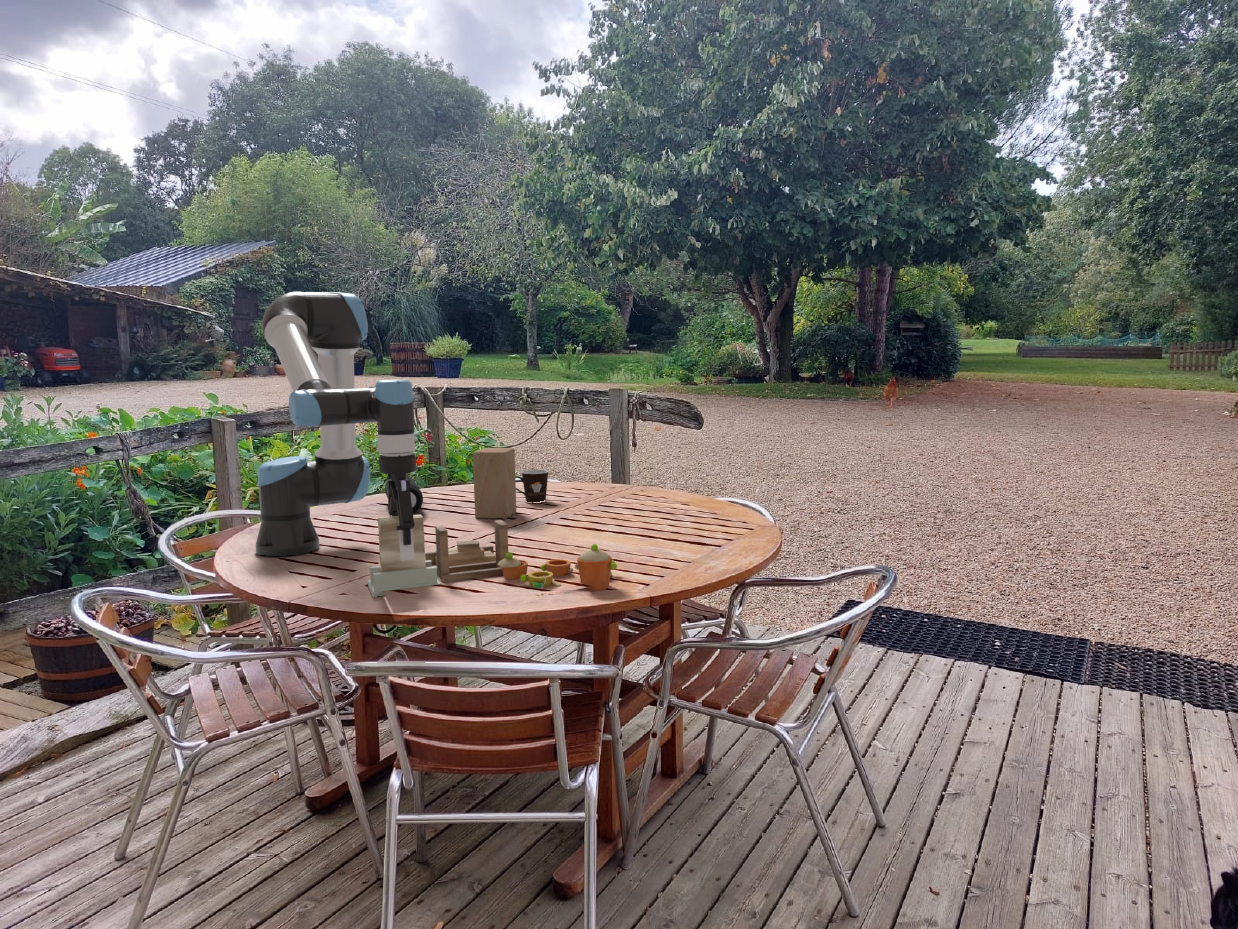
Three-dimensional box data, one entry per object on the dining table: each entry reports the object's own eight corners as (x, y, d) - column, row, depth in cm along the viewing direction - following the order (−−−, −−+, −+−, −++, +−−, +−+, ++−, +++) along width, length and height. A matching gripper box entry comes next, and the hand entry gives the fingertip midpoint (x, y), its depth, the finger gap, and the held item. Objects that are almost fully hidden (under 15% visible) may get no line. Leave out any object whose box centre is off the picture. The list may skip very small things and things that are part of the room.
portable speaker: (385, 503, 273) (383, 473, 272) (416, 501, 276) (414, 471, 275) (391, 519, 249) (389, 486, 248) (425, 516, 253) (423, 483, 251)
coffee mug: (552, 499, 275) (551, 470, 274) (544, 504, 267) (543, 474, 266) (519, 498, 278) (518, 469, 277) (510, 503, 270) (509, 473, 268)
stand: (367, 585, 181) (366, 565, 181) (432, 577, 187) (431, 558, 186) (373, 597, 172) (372, 577, 171) (441, 589, 178) (440, 569, 177)
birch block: (381, 582, 179) (377, 518, 177) (423, 577, 182) (420, 514, 180) (383, 586, 176) (379, 521, 174) (426, 581, 179) (423, 517, 177)
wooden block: (516, 512, 256) (515, 447, 253) (506, 519, 246) (504, 452, 243) (485, 511, 258) (483, 447, 255) (474, 518, 248) (472, 451, 245)
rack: (425, 567, 194) (423, 516, 193) (492, 560, 200) (491, 510, 199) (440, 587, 178) (437, 532, 177) (512, 578, 185) (511, 525, 183)
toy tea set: (612, 571, 191) (612, 530, 189) (625, 591, 176) (624, 547, 174) (497, 578, 186) (496, 536, 185) (500, 599, 171) (498, 553, 170)
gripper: (426, 460, 165) (430, 564, 168) (406, 445, 188) (410, 537, 191) (387, 462, 162) (392, 568, 165) (371, 447, 185) (376, 541, 188)
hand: (402, 552), depth 178 cm, fingers open, 13 cm apart
